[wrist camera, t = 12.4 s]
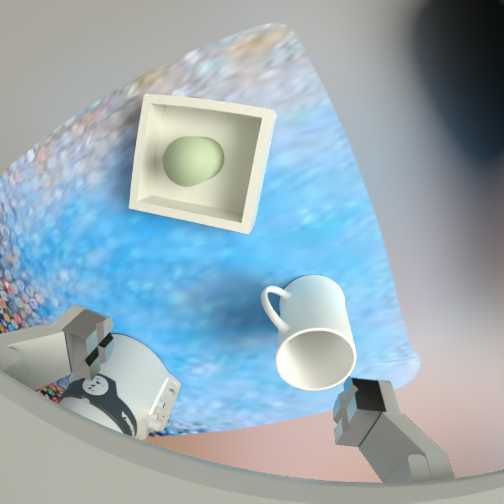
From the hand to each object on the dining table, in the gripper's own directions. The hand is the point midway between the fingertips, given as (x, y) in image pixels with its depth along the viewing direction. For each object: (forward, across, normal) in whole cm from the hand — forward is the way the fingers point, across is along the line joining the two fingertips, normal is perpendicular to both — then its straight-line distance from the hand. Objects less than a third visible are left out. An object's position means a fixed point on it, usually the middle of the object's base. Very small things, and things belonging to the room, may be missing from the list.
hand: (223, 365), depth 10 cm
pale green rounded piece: (+28, +9, -3) cm, 30 cm away
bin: (+29, +9, -3) cm, 31 cm away
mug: (+29, -6, +11) cm, 32 cm away
